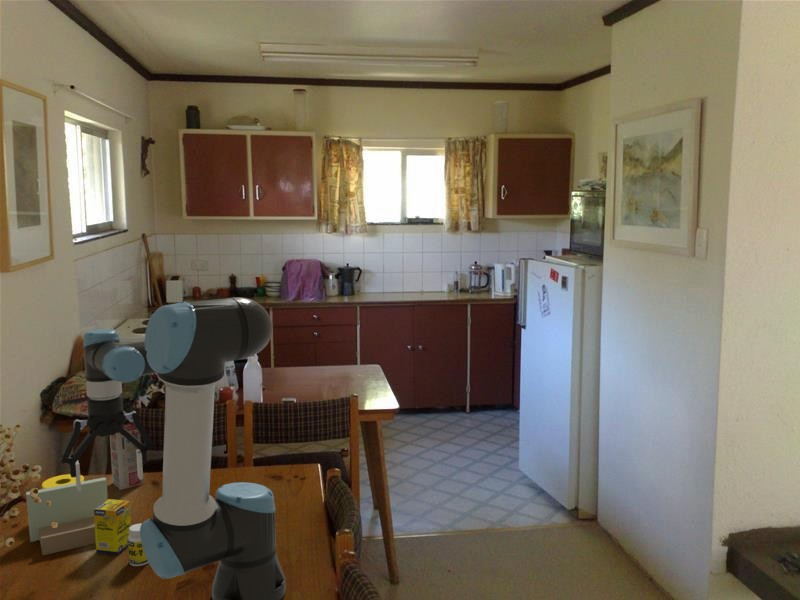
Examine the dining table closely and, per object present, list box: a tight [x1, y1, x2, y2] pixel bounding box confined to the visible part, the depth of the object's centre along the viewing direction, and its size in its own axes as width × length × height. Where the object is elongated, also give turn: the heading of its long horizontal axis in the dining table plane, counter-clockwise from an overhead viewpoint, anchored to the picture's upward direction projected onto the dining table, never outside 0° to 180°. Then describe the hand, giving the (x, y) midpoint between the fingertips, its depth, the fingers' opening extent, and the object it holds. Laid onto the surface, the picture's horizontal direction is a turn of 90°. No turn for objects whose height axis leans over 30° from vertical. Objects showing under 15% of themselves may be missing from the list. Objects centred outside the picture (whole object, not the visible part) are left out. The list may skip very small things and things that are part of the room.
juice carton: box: [109, 410, 144, 491], centre depth 205 cm, size 7×7×22 cm
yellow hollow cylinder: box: [41, 473, 85, 489], centre depth 185 cm, size 10×10×9 cm
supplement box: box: [94, 498, 132, 556], centre depth 167 cm, size 6×6×11 cm
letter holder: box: [25, 476, 109, 556], centre depth 172 cm, size 11×18×12 cm, turn 121°
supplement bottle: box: [127, 522, 149, 567], centre depth 161 cm, size 5×5×8 cm
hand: (110, 483), depth 166 cm, fingers open, 13 cm apart
